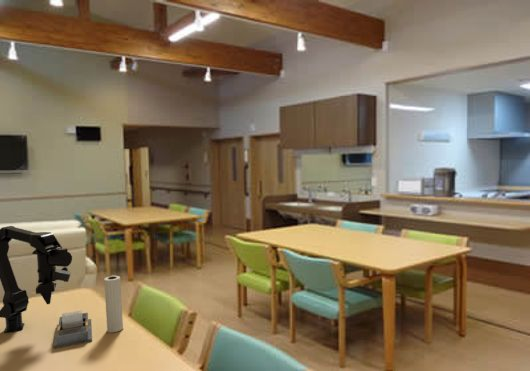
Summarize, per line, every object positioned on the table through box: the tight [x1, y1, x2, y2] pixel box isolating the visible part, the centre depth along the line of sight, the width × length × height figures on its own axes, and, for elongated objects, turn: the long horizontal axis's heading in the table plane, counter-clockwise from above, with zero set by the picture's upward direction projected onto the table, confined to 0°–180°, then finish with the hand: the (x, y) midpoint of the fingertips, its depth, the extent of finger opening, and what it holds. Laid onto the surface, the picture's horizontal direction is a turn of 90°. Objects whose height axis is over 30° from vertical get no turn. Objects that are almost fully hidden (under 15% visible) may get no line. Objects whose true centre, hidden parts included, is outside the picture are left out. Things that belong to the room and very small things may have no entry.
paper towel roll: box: [103, 274, 124, 333], centre depth 163 cm, size 7×6×21 cm
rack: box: [52, 312, 93, 349], centre depth 160 cm, size 21×13×4 cm, turn 24°
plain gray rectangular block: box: [61, 310, 83, 330], centre depth 158 cm, size 3×7×8 cm, turn 114°
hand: (48, 303), depth 161 cm, fingers closed
